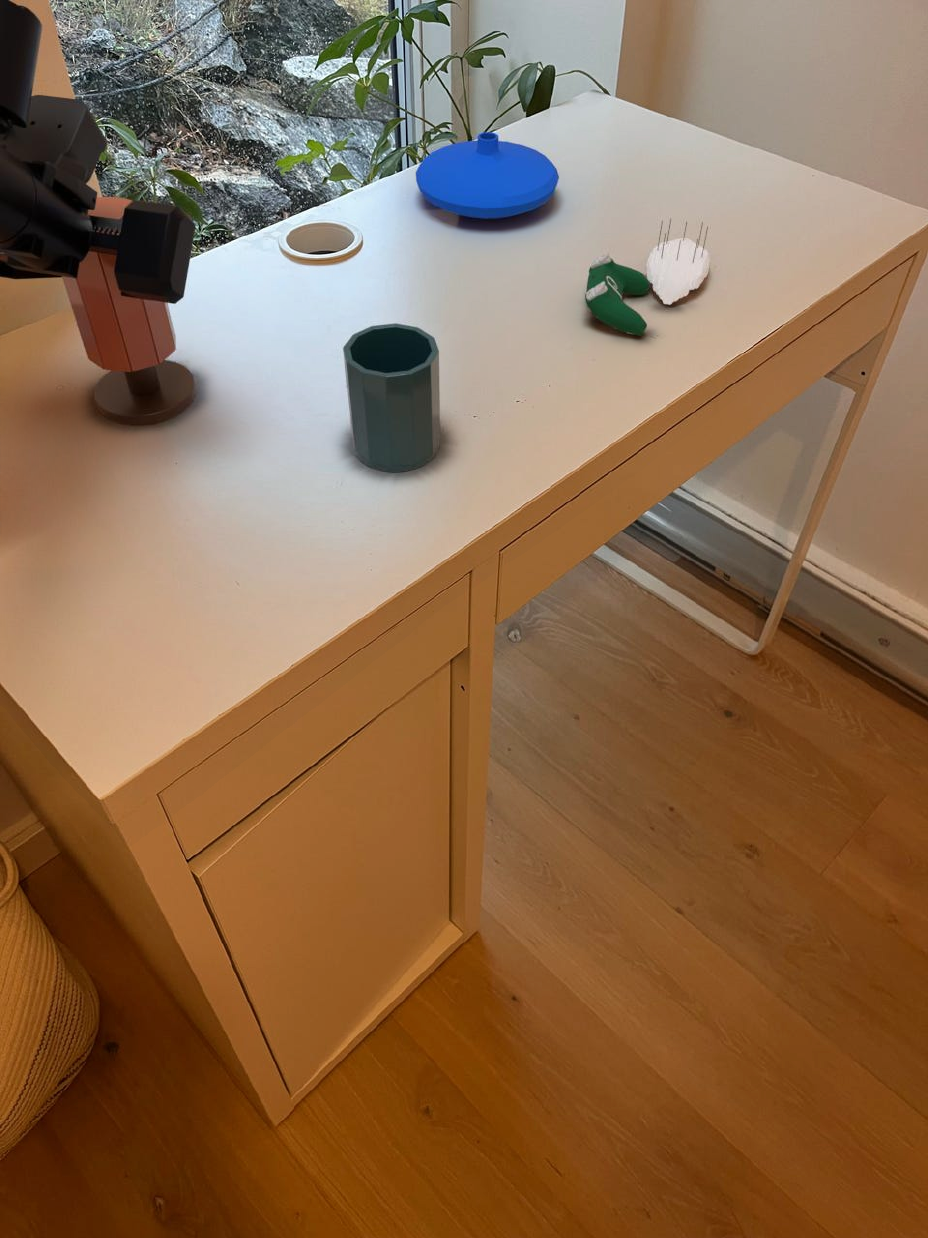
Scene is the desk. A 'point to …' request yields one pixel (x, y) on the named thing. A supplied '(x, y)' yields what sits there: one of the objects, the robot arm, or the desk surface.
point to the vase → (487, 178)
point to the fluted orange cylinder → (117, 311)
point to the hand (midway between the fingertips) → (124, 275)
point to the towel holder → (145, 394)
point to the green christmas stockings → (615, 294)
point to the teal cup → (393, 396)
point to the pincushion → (677, 267)
